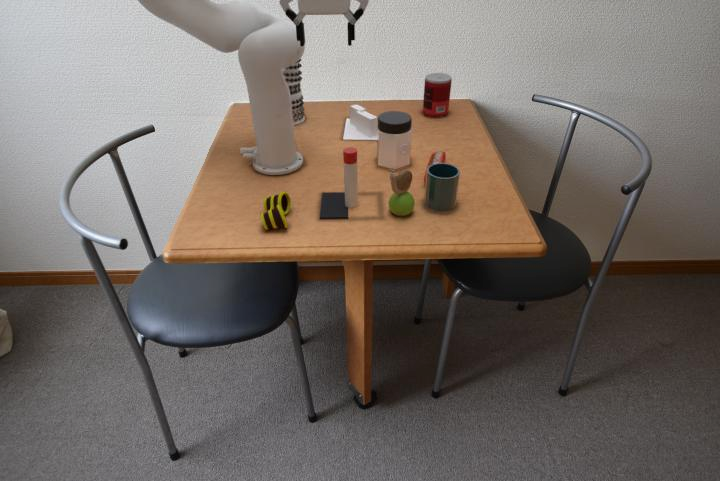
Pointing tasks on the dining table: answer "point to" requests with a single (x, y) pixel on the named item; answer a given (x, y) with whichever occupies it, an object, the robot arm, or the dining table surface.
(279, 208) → the opera glasses
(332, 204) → the mat
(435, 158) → the candy bar
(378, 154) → the jar
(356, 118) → the napkin holder
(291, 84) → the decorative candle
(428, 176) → the pen cup
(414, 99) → the dining table surface
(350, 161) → the marker
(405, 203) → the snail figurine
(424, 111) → the canned food
